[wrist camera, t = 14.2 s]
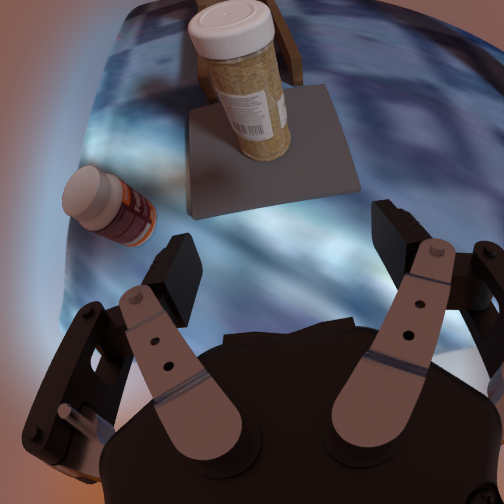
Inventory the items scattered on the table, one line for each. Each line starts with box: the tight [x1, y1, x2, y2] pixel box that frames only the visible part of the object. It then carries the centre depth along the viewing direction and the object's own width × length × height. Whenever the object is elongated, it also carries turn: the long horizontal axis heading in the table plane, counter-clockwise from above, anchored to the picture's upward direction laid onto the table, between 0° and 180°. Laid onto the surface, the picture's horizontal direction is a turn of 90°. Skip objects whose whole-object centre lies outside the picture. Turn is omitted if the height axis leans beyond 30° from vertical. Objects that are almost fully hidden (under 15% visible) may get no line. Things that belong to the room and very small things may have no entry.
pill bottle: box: [62, 165, 157, 247], centre depth 21 cm, size 5×5×8 cm
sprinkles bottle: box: [188, 0, 291, 161], centre depth 17 cm, size 5×5×14 cm
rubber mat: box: [189, 84, 361, 220], centre depth 24 cm, size 14×12×1 cm
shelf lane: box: [196, 0, 303, 104], centre depth 22 cm, size 10×19×12 cm, turn 8°
